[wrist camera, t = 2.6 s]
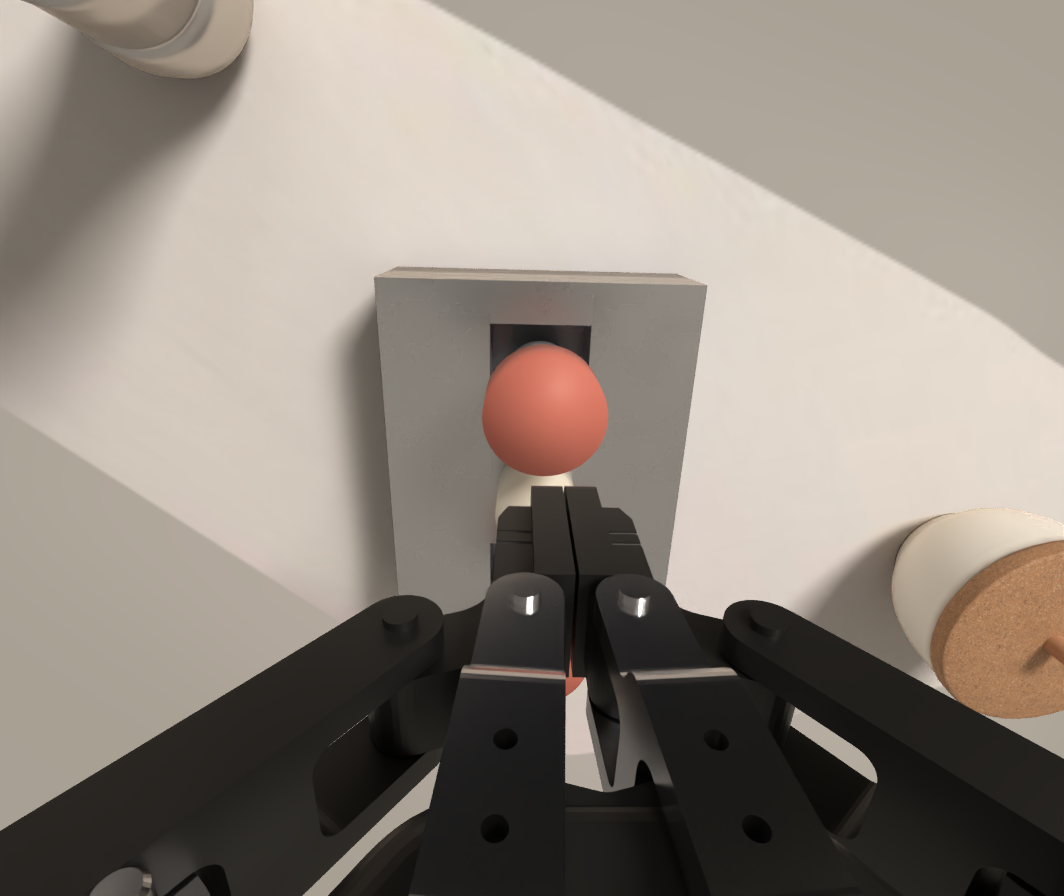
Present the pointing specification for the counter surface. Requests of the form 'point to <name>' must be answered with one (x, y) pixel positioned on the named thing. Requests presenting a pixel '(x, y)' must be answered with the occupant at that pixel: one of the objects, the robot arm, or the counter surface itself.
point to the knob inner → (544, 410)
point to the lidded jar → (987, 608)
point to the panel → (459, 391)
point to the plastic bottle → (162, 31)
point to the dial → (523, 487)
